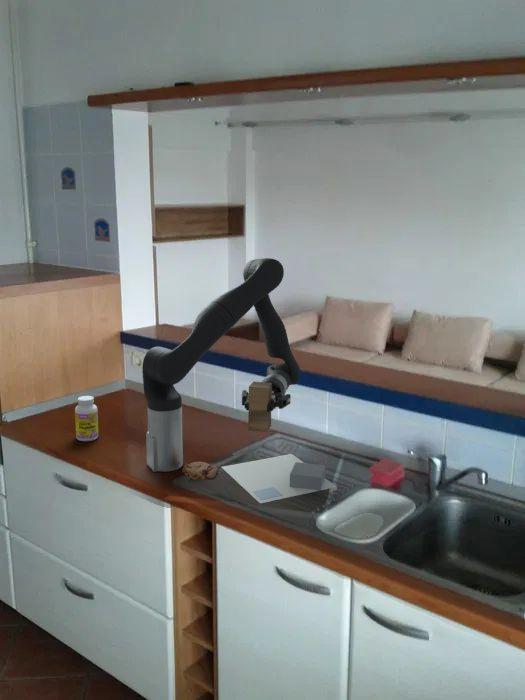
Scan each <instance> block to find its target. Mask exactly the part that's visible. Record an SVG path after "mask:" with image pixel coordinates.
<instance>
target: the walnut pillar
mask: <svg viewBox="0 0 525 700" xmlns="http://www.w3.org/2000/svg"><path fill="white" fill-rule="evenodd" d="M248 393H249V411H248V427H247V428H248V431H251V432H260V433H267V432H268V431H269V430H270V428H271V427H272V411H270V413H269V412H267V404H268V403H269V402H270V401H271V399H272V383H266V382H262V381H252V383H251V384H249V386H248Z"/></svg>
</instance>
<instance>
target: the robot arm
mask: <svg viewBox="0 0 525 700" xmlns="http://www.w3.org/2000/svg"><path fill="white" fill-rule="evenodd" d="M284 269H285V268H284V266H283V264H282V263H281V262H280V261H279V260H277V259H274V258H269V257H268V258H256V259H255V258H254V259H251V260H249V261H247V263H246V264H245V265H244V267H243V270H242V275H243V281H244V282H243V281H242V283H241V284H239V285H238V286H236V287H233V288H231V289H230V290H228V291H226V292H224V293H222V294H220V295H219V296H217V297H216V298H214V299H213V300H211V301H210V303H208V304H207V305H206V306H205V307H204V308H203V309H202V310H200V312H199V313H198V314H197V316H196V318H195V320H194V323H193V325H192V329H191V332H190V334H189V335H188V336H187V338H186V339H184V341H182V342H181V343H180V344H179V345H178V346H177V347H175V348H173V349H171V348H167V347H163V346H154V347H152V348H150V349H148V351H147V352H146V353H145V355H144V357H143V360H142V367H141V368H142V371H141V372H142V382H143V383H142V385H143V394H144V397H145V400H146V402H147V431H146V433H145V438H146V439H145V440H146V441H145V442H146V443H145V446H146V465H147V466H148V467H149V469H151V471H152V472H154V473H155V472H172V471H177V470H179V469H181V468H182V467H183V465H184V464H183V463H184V461H183V460H184V455H183V453H184V452H183V404H182V403H183V402H182V401H183V400H182V396H181V394H180V393H179V392H178V391H177V388H175V385H176V384H179V383H180V382H181V381H183V379H184V378H185V377H186V376H187V375H188V374H189V373H190V372H191V371H192V369H193V368H194V367H195V365H196V364H197V363H198V361H200V359H202V357H203V356H204V355H205V354H206V353H207V352H208V351H209V350H210V349H211V348H212V347H213V346H214V345H215V344H217V342H218V341H219V340H220V339H221V338H222V337H223V336H224V335H226V334H227V332H229V331H230V330H231V329H232V328H233V327H234V326H235V325H236V324H237V323H238V322H239V321H240V319H242V318H243V317H244V316H246V314H247V313H248V312H249V311H250V310H251V309H252V308H254V311H255V312H256V316H257V317H258V321H259V323H260V327H261V331H262V334H263V339H264V344H265V348H266V352H267V356H268V357H270V358H272V359H280V360H282V361H283V362H281V363H275V364H271V365H269V366H268V367H267V369H266V376H265V377H264V378H263V379H262V381H261V382H266V383H272V399H271V401H270V402H269V403H268V404H267V412H269V413H270V411H271V412H272V411H274V410H276V409H279V410H280V409H281V410H282V409H284V408H286V407H287V406H290V405H291V397H292V396H291V394H290V393H287V390H288V389H289V387H290V386H293V385H297V384H296V382H297V380H298V377H299V373H298V372H299V369H300V370H301V367H300V366H299V364H298V362H297V360H296V359H295V356H294V354H293V352H292V349H291V347H290V342H289V339H288V337H289V336H288V333H287V330H286V326H285V323H284V322H283V320H282V318H281V317H280V315H279V313H278V312H277V310H276V309H275V307H274V305H273V303H272V301H271V297H270V295H269V294H270V293H271V292H273V291H275V289H277V287H279V286H280V285H281V283H282V281H283V279H284V274H285V270H284ZM286 393H287V394H286ZM241 406H244V409H245V411H247V412H249V391H247V390H246V389H243V390H242V393H241Z"/></svg>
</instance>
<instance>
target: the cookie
mask: <svg viewBox="0 0 525 700" xmlns="http://www.w3.org/2000/svg"><path fill="white" fill-rule="evenodd" d="M181 471H182V473H184V475H185V476H186V478H188V479H191V480H193V481H196V480H198V481H199V480H201V481H204V480H206V479H214V478H215V477H216V475H217V474H218V472H219V469H218V467H217V466H211V465H210V464H209V463H208V462H204V461H194V462H191V463H188V464H185V465H184V466H183V468H182V470H181Z"/></svg>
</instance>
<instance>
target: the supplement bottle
mask: <svg viewBox="0 0 525 700" xmlns="http://www.w3.org/2000/svg"><path fill="white" fill-rule="evenodd" d="M94 399H95V397H94V396H91V395H81V396H79V397H78V398H77V403H78V404H77V405H76V407H75V408H74V419H75V420H74V421H75V437H76V439H77V440H78V441H81V442H92V441H95V440H96V439H98V437H99V419H98V418H99V416H98V415H99V414H98V413H99V411H98V406H97V405H96V404H94V402H95V400H94Z"/></svg>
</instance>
